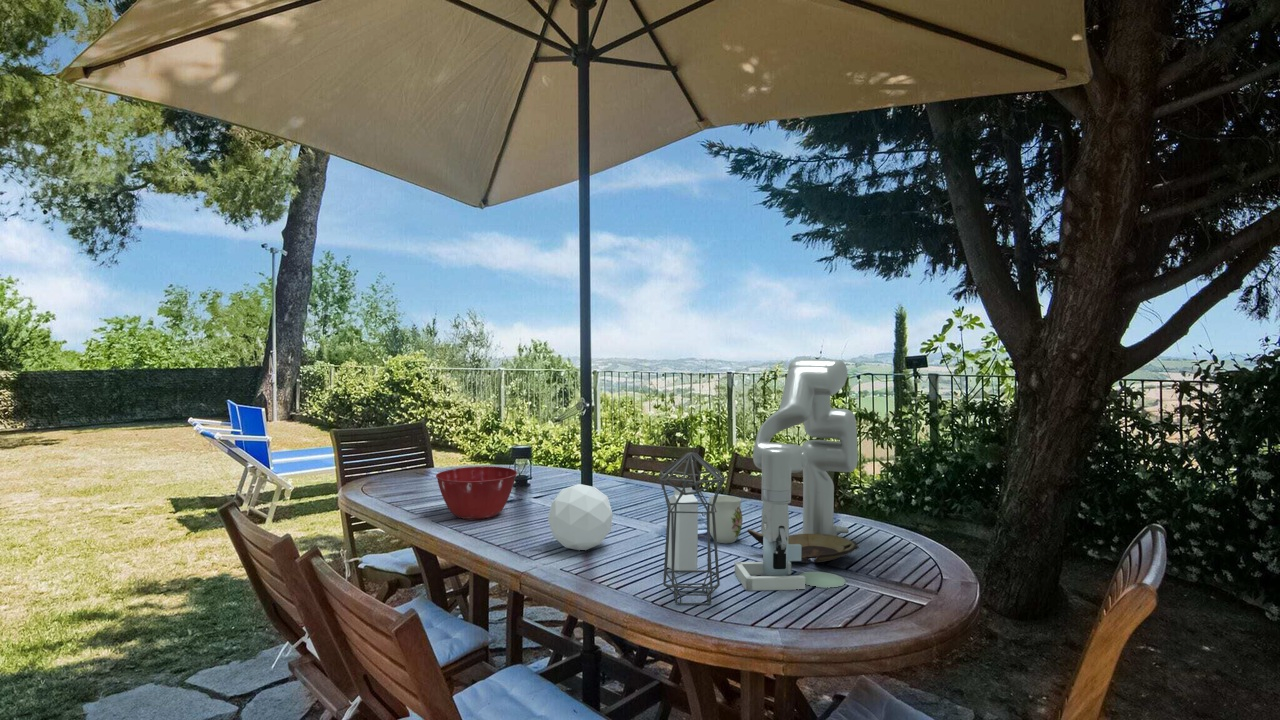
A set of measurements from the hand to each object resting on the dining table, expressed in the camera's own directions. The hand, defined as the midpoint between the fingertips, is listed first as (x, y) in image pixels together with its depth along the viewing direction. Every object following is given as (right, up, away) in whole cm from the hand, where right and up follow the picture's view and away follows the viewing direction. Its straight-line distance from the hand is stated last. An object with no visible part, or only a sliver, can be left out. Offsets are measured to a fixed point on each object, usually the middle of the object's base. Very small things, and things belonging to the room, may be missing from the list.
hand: (775, 563), depth 170 cm
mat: (+12, -5, +1) cm, 13 cm away
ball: (-53, -4, +28) cm, 60 cm away
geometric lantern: (-23, -4, -12) cm, 26 cm away
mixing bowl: (-94, -4, +67) cm, 116 cm away
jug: (+2, -2, 0) cm, 3 cm away
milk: (-24, -4, +9) cm, 26 cm away
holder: (-2, -4, 0) cm, 5 cm away
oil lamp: (+13, -5, +21) cm, 25 cm away
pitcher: (-8, -4, +38) cm, 39 cm away
